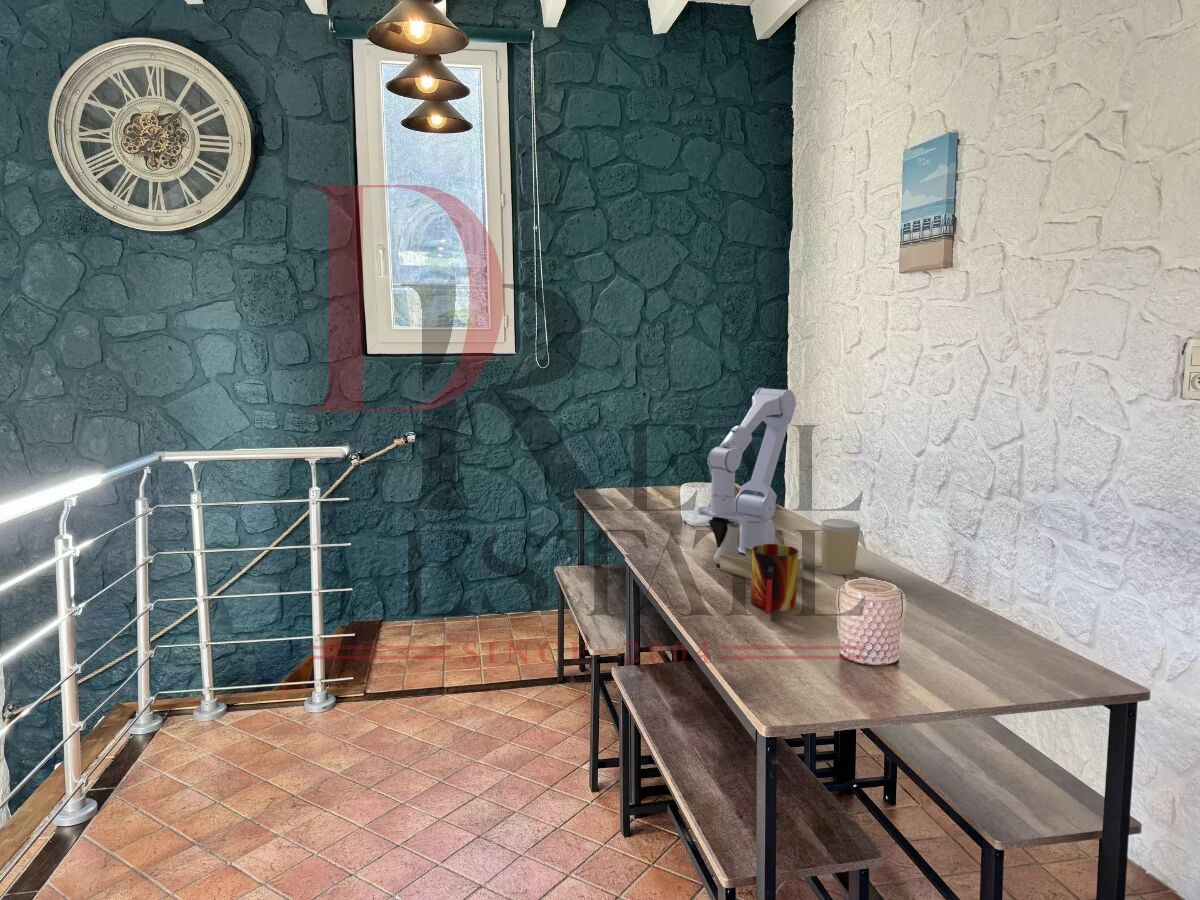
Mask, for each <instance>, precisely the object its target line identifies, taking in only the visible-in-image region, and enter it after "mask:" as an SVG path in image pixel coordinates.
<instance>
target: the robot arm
mask: <svg viewBox="0 0 1200 900" xmlns="http://www.w3.org/2000/svg"><path fill="white" fill-rule="evenodd" d="M751 405H752V406H751V407H750V408H749V410H748V411H747V414H746V415H745V416H744V419H743V420H742V422H741V423H740V424H739V425H736V426H733V427H732V428H731V430H730V431H729V433H728V434H727V435H726V436H725V438H724V439H723V440H722V442H721V443H720V444H719V446H715V447H714V448H712V449H711V450H710V451H709V453H708V456H707V459H706V460H707V462H706V463H707V465H708V468H709V475H710V476H711V491H710V493H711V496H710V497H711V498H710V499H711V500H710V507H709V506H704V505H703V506H699V507H697V508H698V509H697V510H698V511H697V515H698V516H699V515H700V516H706V517H711V519H709V520H708V524H709V525H710V527H711V530H712V531H713V535H714V538H715V543H716V546H717V549H719V547H720V545H721V544H722V542H723V540H724V538H725V536H726V533H727V529H728V527H727V524H728V523H734V524H738V525H739V526H740V528H739V541H738V542H739V543H738V550H739V554H744V555H745V551H746V547H751V548H753V547H754V546H757V545H761V544H776V542H775V539H776V534H775V533H776V526H775V523H774V520H773V519H772V517H774V514H775V512H776V501H777V497H778V495H777V494H776V492H775V491H774V490H773V488H772V487H771V485H772V481H773V478H774V474H775V470H776V467H777V465H778V461H779V457H780V455H781V452H782V447H783V445H784V442H785V441H784V440H785V437H786V434H787V431H788V426H789V425H790V424H791V423H792V421H793V416H794V413H795V409H796V406H797V401H796V396H795V393H794V392H793V390H791V389H775V388H765V387H759V388H757V390H756V391H755V393H754V394H753V395H752V398H751ZM762 422H764V423H765V424H766V429H765V431H764V436H763V439H762V442H761V446H760V449H759V452H758V455H757V458H756V462H755V464H754V469H753V471H752V475H751V479H750V480H749V481H747V482H745V483H744V484H743V485H741V486H740V489H739V491H738V493H737V495H736V496H735V483H736V479H735V478H736V471H737V470H738V469H739V468H740V465H741V462H742V461H741V460H742V458H743V453H744V451H746V449H747V448H748V446H749V445H750V443H751V442H752V440H753V436H752V433H753V432H754V431H755V430H756V428H757V427H759V425H760V424H761V423H762Z"/></svg>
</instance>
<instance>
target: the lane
mask: <svg viewBox="0 0 1200 900" xmlns="http://www.w3.org/2000/svg"><path fill="white" fill-rule="evenodd" d="M752 550H753V548H751V547H746V551H745V554H744V558H745V559H744V558H741V557H740V558H737V557H733V556H730V555H726V554H720V564H719V570H720V571H723V572H727V573H729V574H733V575H737V576H739V577H742V578H746V579H750V580H751V577H752ZM804 569H805V557H804V556H798V568H797V581H798V580H800V579H803V578H804V572H805V571H804Z"/></svg>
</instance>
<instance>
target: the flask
mask: <svg viewBox="0 0 1200 900" xmlns="http://www.w3.org/2000/svg"><path fill="white" fill-rule="evenodd" d="M727 527H728V529H727V533H726V536H725V538H724V540H723V542H722V544H721V545H720V547H719V548H717V550H716V552H715V554H713V556H712V557H713V558H712V560H713V563H716V564H718V565H720V554H726V555H730V556H733V557H737V558H740V559H741V557H740V552H739V550H738V547H739V543H738V532H739V530H740V524H738V523H728V524H727Z"/></svg>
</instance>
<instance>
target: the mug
mask: <svg viewBox="0 0 1200 900" xmlns="http://www.w3.org/2000/svg"><path fill="white" fill-rule="evenodd" d="M798 557H799V550H798V549H797V548H796V547H793V546H790V545H785V544H779V543H775V544H761V545H757V546H754V547H753V550H752V577H751V579H750V582H751V585H750V604H751V605H752V606H753V607H756V608H758V609H761V610H765V614H771V613H772V612H785V611H790V610H793V609H795V607H796V605H797V587H798V586H797V585H798V584H797V583H798V580H797V568H798Z"/></svg>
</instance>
